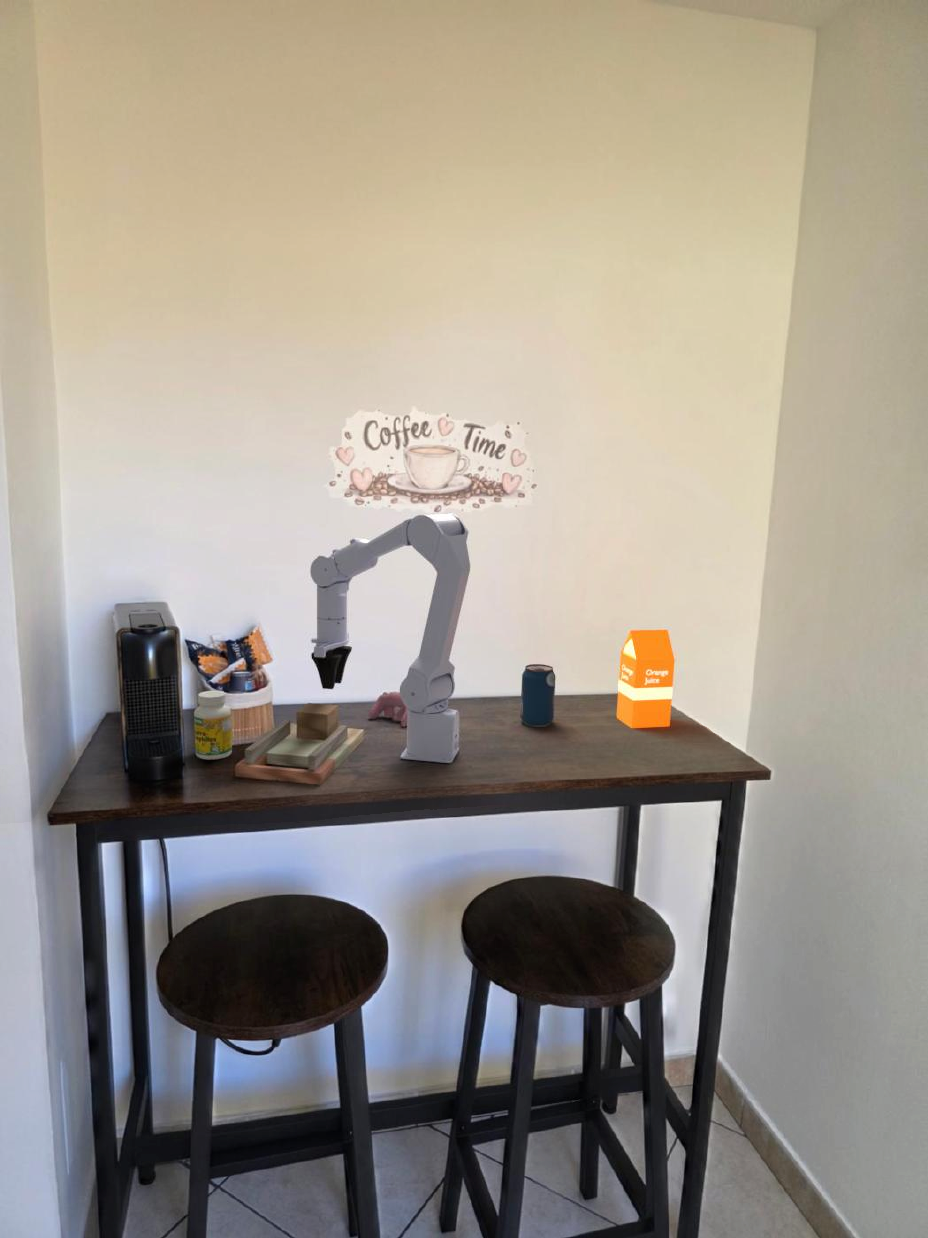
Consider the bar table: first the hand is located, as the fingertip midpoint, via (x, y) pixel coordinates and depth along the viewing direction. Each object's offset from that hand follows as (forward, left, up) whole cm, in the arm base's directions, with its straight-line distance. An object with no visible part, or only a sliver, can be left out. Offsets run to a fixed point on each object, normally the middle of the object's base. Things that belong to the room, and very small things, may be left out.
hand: (331, 685), depth 162 cm
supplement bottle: (+16, +18, -10) cm, 26 cm away
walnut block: (0, +8, -7) cm, 11 cm away
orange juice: (-61, -24, -10) cm, 66 cm away
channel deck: (0, +15, -9) cm, 18 cm away
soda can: (-39, -17, -10) cm, 44 cm away
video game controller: (-10, -10, -10) cm, 17 cm away
